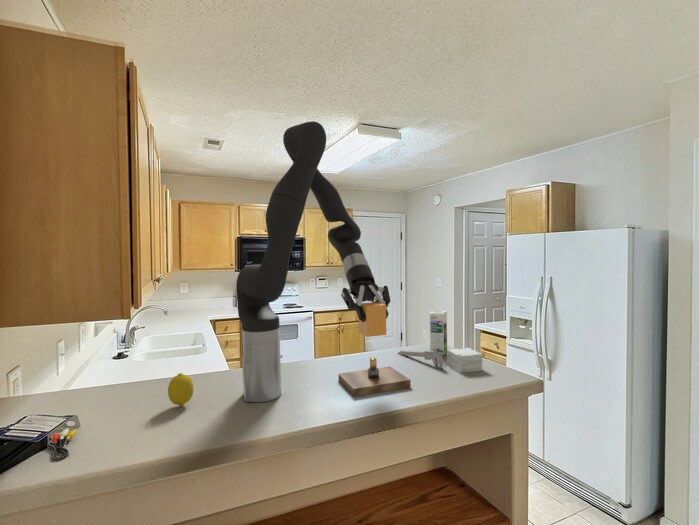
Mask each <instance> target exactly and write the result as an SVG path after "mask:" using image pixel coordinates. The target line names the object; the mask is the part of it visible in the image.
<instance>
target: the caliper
mask: <svg viewBox="0 0 699 525" xmlns="http://www.w3.org/2000/svg"><path fill="white" fill-rule="evenodd" d="M397 354H399V355H400V354H401V355H400V356H403V355H404V356H405V357H406V356H407V357H419V358H424V360H426V361H430V360H431V361H432V364H433V365H434V368H436V367H437V368H438V369H440V370H441V369H443V367H444V362H443V355H442V353H441V352H440V350H439V348H434V351H430V350H423V351H415V350H414V351H413V350H399V351H398V352H397Z"/></svg>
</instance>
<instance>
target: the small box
mask: <svg viewBox="0 0 699 525" xmlns="http://www.w3.org/2000/svg"><path fill="white" fill-rule="evenodd" d="M446 366H448V367H450V368H451V369H452V370H455V371H456V372H458V373H459V374H461V373H471V372H472V373H473V372H480V371H483V370H484V369H483V366H484V365H483V354H482V353H481V352H479V351H477V350H474V349H472V348H470V347H463V348H461V347H460V348H455V349H454V348H452V349H447V355H446Z"/></svg>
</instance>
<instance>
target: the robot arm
mask: <svg viewBox="0 0 699 525" xmlns="http://www.w3.org/2000/svg"><path fill="white" fill-rule="evenodd" d="M282 141H283V146H284V149H285V151H286V153H287V155H288V156H289V158H290V160H291V161H292V165H291V166H290V168H289V169H288V170H287V171H286V172H285V174H284V175H283V176H282V177H281V178H280V180H279V181H278V182H277V184H276V185H275V186H274V189H273V190H272V192H271V195H270V199H269V201H268V204H267V207H266V211H265V225H266V226H265V227H266V232H267V245H266V249H265V253H264V256H263V258H262V261H261V264H249V265H246V266H245V267H243V268H242V269H241V270H240V271H239V273H238V275H237V279H236V287H235V288H236V290H235V291H236V303H237V312H238V318H239V320H240V322H241V334H242V337H241V340H242V358H241V359H242V360H241V361H242V385H243V387H242V389H243V391H242V392H243V398H244V402H245V403H249V402H252V403H265V402H269V401H274V400H276V399H277V398H279V397H280V396H281V395H282V370H281V368H282V366H281V365H282V364H281V332H280V331H281V329H280V317H279V316H278V314H276V312H275V311H273V309H272V308H271V306H270V303H273V302H275V301H277V300H278V299H279V298H281V295H282V294H283V292H284V289H285V286H286V283H287V277H288V272H289V267H290V261H291V255H292V253H293V252H292V250H293V246H294V244H295V240H296V237H297V233H298V229H299V226H300V223H301V220H302V217H303V214H304V210H305V206H306V203H307V199H308V195H309V192H310V191H311V192H312V193H313V195H314V197H315V200H316V201H317V204H318V206H319V208H320V210H321V213H322V215H323V217H324V219H325V220H326V222H328V223H337V222H342V223H341V224H338V225H336V226H335V225H334V226H333V227H331V228H330V229H329V230H328V233H327V239H328V241H329V243H330V244H331V246H332V247H333V248H334V249H335V250H336V251H337V253H338V254H339V257H340V259H341V263H342V267H343V272H344V275H345V277H346V281H347V284H348V287H349V288H347V287H342V290H341V294H340V295H341V298H342V299H343V301H344V303H345V305H346V307H347V309H348V310H349V311H352V310H355V311H356V314H357V318H358V321H359V320H361V321H362V322H365V320H366V315H365V312H364V310H363V307H362V306H361V304H362V303H365V302H370V303H372V302H378V303H382V304H385V305H386V320H387V319H388V316H389V311H388V307H389V305H390V302H391V296H390V295H391V294H390V293H389V292H390V291H389V288H388V286H387V285H384V286H383V287H381V286H378V284H376V281H375V278H374V274H373V272H372V269H371V268H370V265H369V262H368V260H367V259H366V257H365V254H364V252H363V249H362V247H361V246H360V244H359V242H357V241H359V240H360V239H361V235H362V231H361V229H360V227H359V225H358V224H357V223H356V221H355V220H354V219H353V218H352V217H351V216H350V214H349V213H348V211H347V210H346V207H345V205H344V202H343V200H342V197H341V195H340V193H339V191H338V189H337V188H336V187H335V185H334V184H333V183H332V182H331V181H330V180H329V179H328V178H327V177H326V176H324V174H322V172H321V171H320V170H319V169H318V167H319V164H320V162H321V160H322V158H323V155H324V153H325V150H326V147H327V133H326V131H325V128H324V126H323V125H322V123H320V122H318V121H313V120H312V121H305V122H302V123H299V124H296V125H293V126H290V127H288V128H287V129H286V130H285V131H284V133H283V135H282ZM352 296H353V297H354V298H356V299H355V301H354V299H353V297H352Z"/></svg>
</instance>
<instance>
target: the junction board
mask: <svg viewBox="0 0 699 525" xmlns="http://www.w3.org/2000/svg"><path fill="white" fill-rule="evenodd" d="M377 368H378V369H379V378H376V379H371V378H368V369H363V370H361V369H360V370H356V371H348V372H343V373H342V372H341V373H338V382H339V381H340V382H339V383H340V384H341V385H342V386H343V387H344V388H345V389H346V390H347V391H348V392H349V393H350V395H352V397H354V398H357V397H361V396H367V395H373V394H379V393H385V392H391V391H396V390H403V389H407V388H411V387H412V386H411V384H412V383H411V379H410V378H409V377H408V376H406V375H404V374H403V373H401V372H399V371H397V369H394V368H393V367H391V365H390V366H384V367H383V366H382V367H377Z"/></svg>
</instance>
